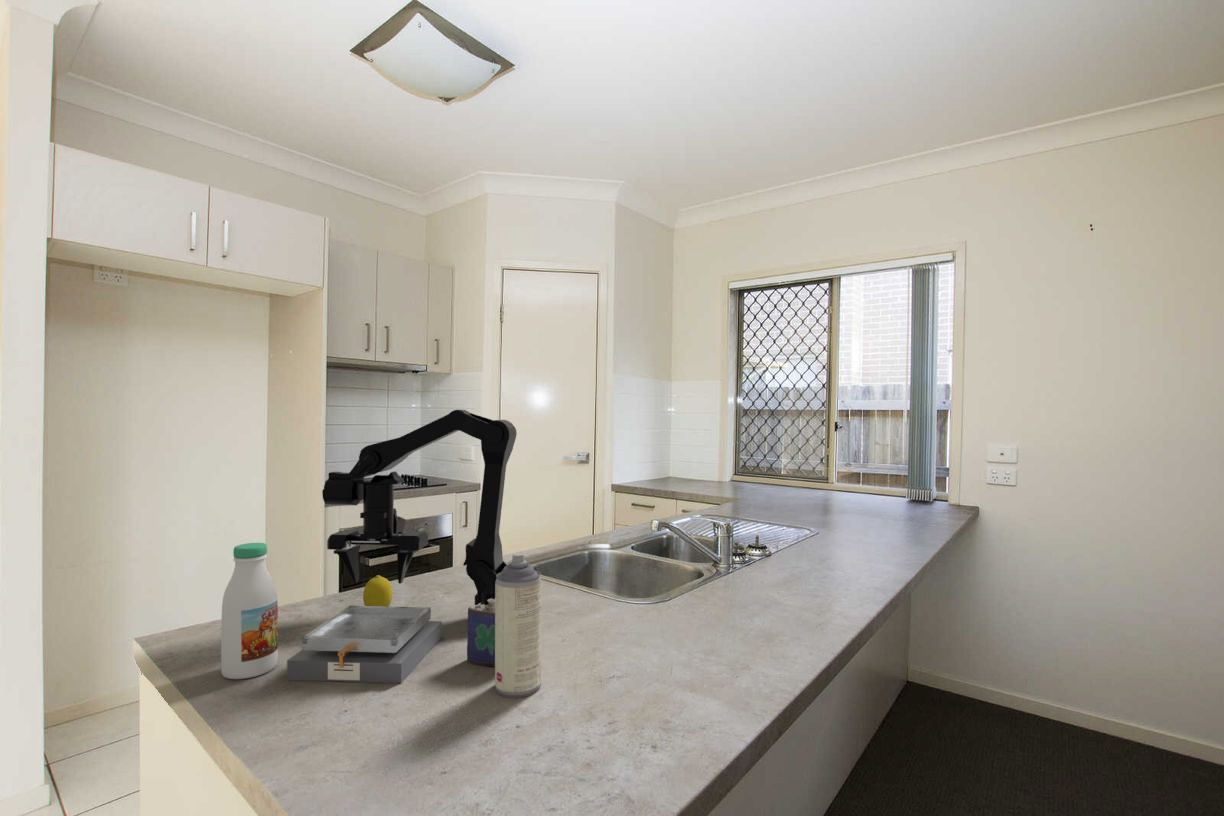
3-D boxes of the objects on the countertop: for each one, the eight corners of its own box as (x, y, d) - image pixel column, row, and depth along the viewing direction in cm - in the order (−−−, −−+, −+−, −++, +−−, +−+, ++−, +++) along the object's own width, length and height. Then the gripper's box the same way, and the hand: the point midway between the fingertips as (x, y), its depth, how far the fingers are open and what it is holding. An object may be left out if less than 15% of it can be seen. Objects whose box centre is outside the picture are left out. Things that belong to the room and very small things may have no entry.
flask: (521, 663, 98) (521, 598, 98) (514, 670, 95) (514, 604, 95) (471, 656, 101) (471, 593, 101) (462, 663, 98) (462, 598, 98)
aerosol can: (523, 672, 95) (524, 546, 95) (549, 687, 90) (550, 554, 90) (486, 686, 90) (486, 554, 90) (511, 702, 85) (512, 562, 85)
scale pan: (430, 626, 107) (430, 607, 107) (389, 669, 90) (389, 646, 90) (349, 624, 108) (349, 605, 108) (293, 666, 91) (293, 643, 91)
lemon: (397, 610, 123) (397, 572, 123) (384, 620, 118) (384, 579, 118) (371, 609, 124) (371, 571, 124) (357, 619, 118) (357, 578, 118)
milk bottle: (218, 685, 90) (218, 552, 90) (224, 665, 97) (224, 542, 97) (276, 674, 94) (277, 547, 94) (278, 656, 100) (278, 537, 100)
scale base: (441, 637, 109) (441, 621, 109) (400, 683, 91) (400, 664, 91) (345, 635, 110) (345, 619, 110) (286, 680, 92) (286, 660, 92)
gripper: (437, 500, 128) (437, 572, 128) (353, 499, 129) (353, 571, 129) (417, 508, 117) (417, 588, 117) (325, 507, 118) (325, 586, 118)
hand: (378, 582), depth 121 cm, fingers open, 9 cm apart
